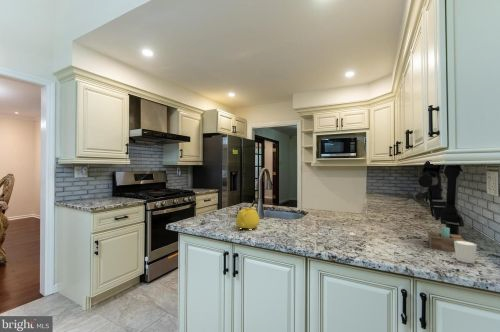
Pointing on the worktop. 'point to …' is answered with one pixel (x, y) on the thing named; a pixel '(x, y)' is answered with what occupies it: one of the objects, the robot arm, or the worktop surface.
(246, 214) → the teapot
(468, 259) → the white cup
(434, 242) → the socket block
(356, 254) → the worktop surface
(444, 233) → the peg
